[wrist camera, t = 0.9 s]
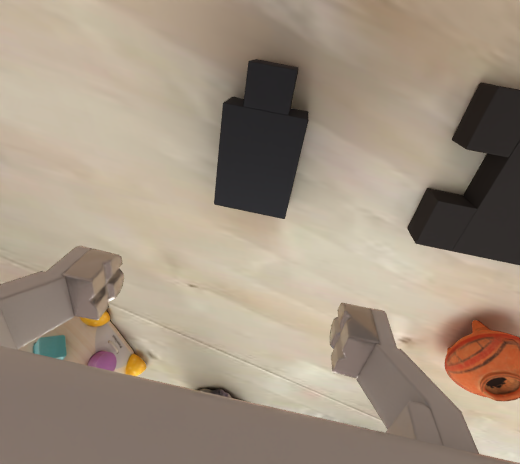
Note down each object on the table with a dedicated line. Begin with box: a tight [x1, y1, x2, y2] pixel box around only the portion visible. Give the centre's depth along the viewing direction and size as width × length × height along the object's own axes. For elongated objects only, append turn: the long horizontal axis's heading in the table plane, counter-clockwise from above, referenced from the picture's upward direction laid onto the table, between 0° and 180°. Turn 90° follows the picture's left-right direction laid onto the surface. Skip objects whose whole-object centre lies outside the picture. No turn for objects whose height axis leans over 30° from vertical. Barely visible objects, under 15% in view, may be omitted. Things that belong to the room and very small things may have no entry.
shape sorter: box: [18, 311, 146, 376], centre depth 34 cm, size 20×10×18 cm, turn 20°
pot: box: [445, 320, 520, 401], centre depth 30 cm, size 8×8×7 cm
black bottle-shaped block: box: [214, 59, 308, 219], centre depth 24 cm, size 6×11×3 cm, turn 171°
